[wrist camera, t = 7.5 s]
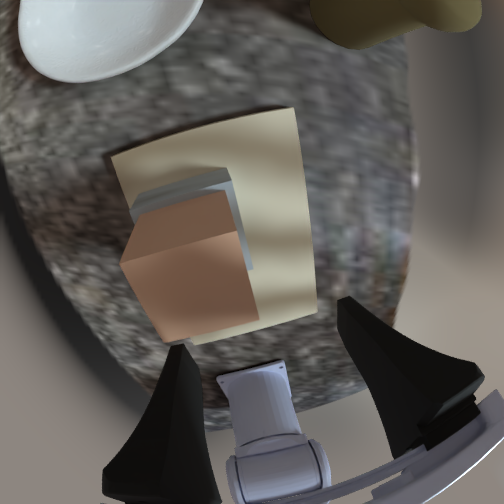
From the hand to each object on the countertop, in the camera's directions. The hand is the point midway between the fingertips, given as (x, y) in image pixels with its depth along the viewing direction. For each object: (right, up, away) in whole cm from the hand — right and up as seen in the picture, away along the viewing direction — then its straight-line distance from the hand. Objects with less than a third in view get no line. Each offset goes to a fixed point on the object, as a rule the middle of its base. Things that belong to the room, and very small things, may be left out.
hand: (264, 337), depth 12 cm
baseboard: (-2, +4, +9) cm, 10 cm away
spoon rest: (-11, +25, -4) cm, 27 cm away
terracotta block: (-4, +4, +4) cm, 7 cm away
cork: (+6, +21, +1) cm, 22 cm away
